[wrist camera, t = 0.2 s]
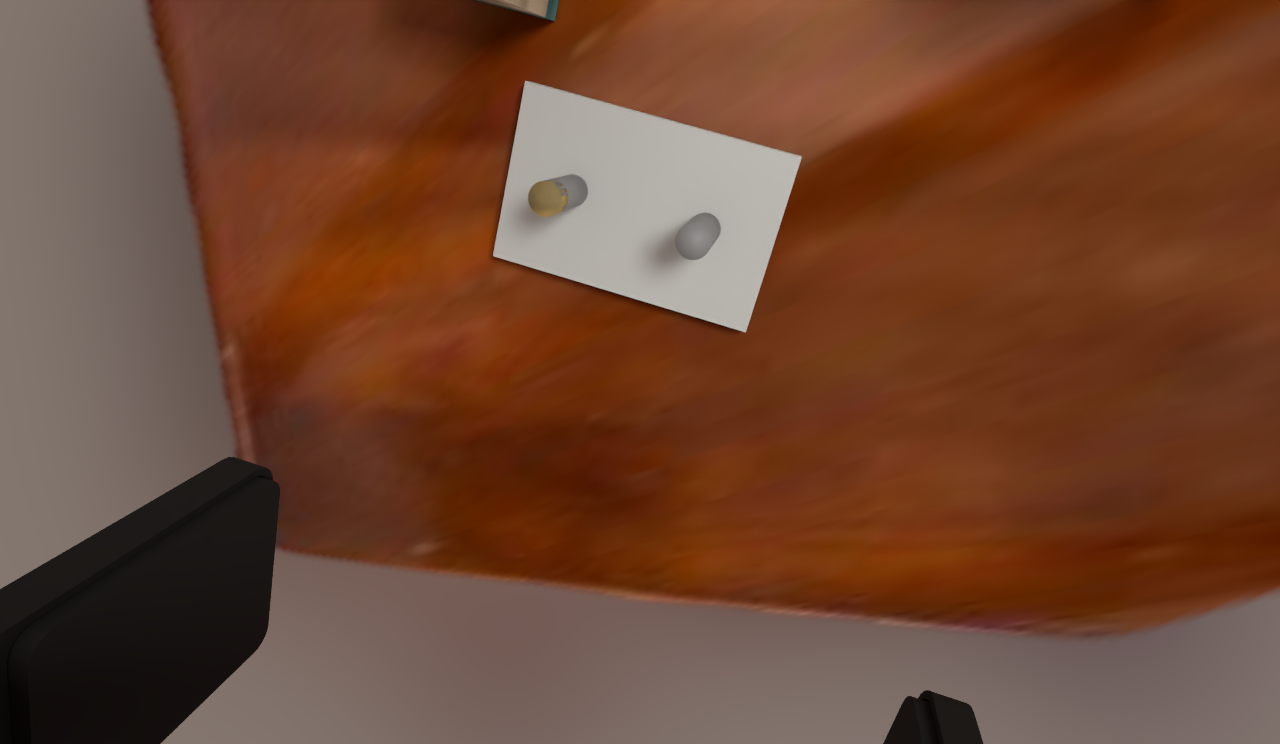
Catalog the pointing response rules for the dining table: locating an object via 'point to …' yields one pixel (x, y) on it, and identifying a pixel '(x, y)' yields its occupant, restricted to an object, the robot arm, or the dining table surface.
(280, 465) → the dining table surface
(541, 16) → the sleeve
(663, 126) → the pin board
